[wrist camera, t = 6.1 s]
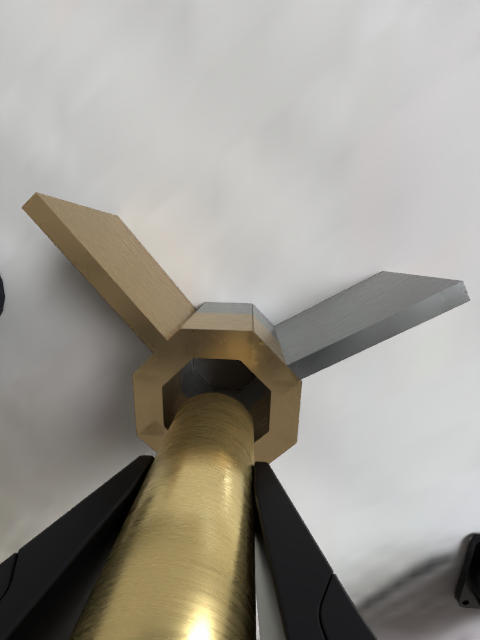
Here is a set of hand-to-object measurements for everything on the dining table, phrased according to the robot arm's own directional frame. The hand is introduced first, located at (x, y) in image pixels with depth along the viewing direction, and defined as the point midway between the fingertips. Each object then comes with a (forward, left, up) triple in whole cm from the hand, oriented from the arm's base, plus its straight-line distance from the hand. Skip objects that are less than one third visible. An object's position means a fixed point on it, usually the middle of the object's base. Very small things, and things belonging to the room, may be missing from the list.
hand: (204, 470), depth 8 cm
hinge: (+2, -1, -9) cm, 10 cm away
